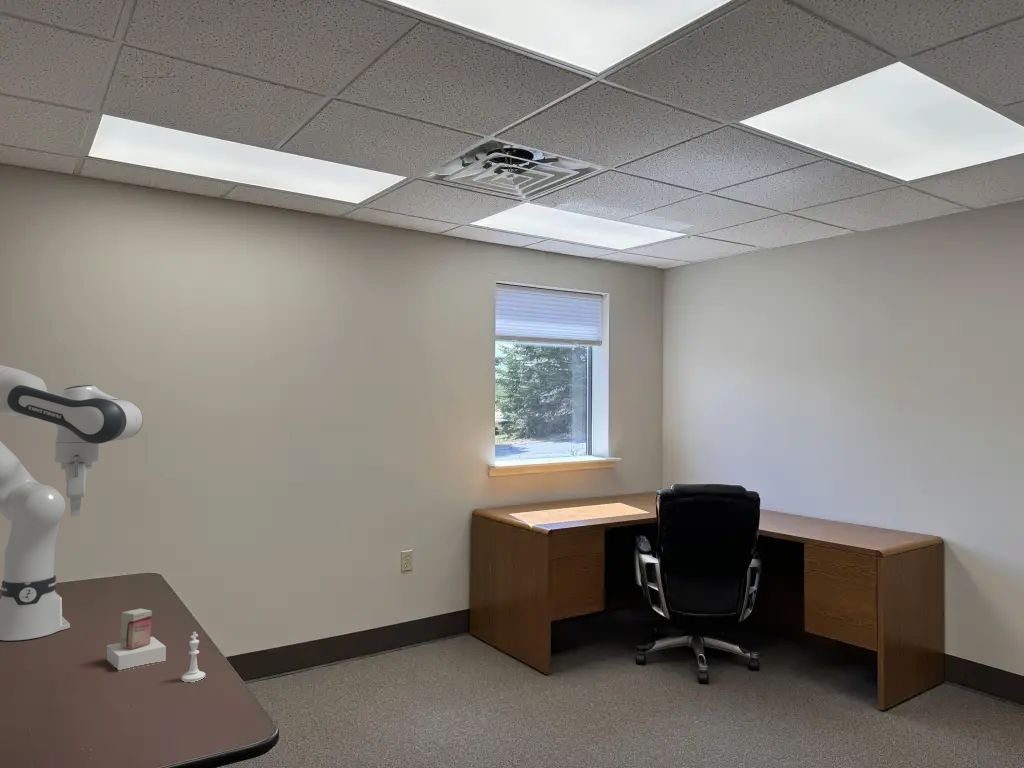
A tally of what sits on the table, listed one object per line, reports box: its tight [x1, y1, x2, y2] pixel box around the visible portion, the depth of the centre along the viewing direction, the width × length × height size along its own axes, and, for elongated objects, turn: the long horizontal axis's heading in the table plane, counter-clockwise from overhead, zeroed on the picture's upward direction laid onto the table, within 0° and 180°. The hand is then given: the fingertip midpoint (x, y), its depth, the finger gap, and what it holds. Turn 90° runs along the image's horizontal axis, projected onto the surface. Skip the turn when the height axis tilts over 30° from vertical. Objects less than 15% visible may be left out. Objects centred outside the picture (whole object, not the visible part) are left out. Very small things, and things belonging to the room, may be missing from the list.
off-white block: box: [106, 636, 167, 670], centre depth 172 cm, size 10×10×4 cm
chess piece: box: [180, 631, 206, 683], centre depth 161 cm, size 5×5×10 cm
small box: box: [119, 608, 153, 649], centre depth 172 cm, size 5×4×8 cm
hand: (75, 513), depth 172 cm, fingers open, 8 cm apart
